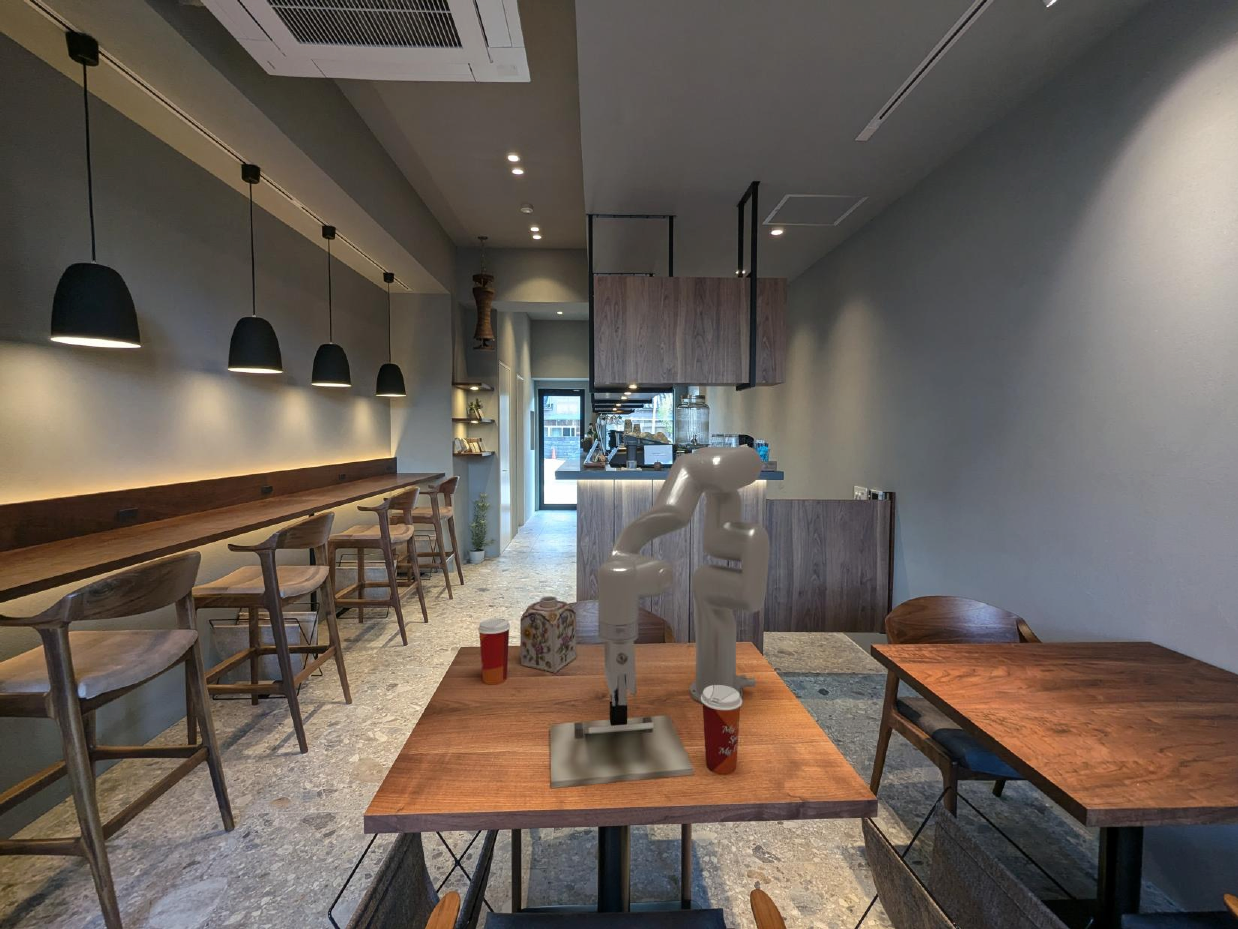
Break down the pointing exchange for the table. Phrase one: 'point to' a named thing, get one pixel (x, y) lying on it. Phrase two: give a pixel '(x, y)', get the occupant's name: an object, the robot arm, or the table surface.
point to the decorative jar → (548, 635)
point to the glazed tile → (618, 728)
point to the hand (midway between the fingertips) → (618, 723)
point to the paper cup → (721, 727)
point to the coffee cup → (494, 649)
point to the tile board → (616, 753)
